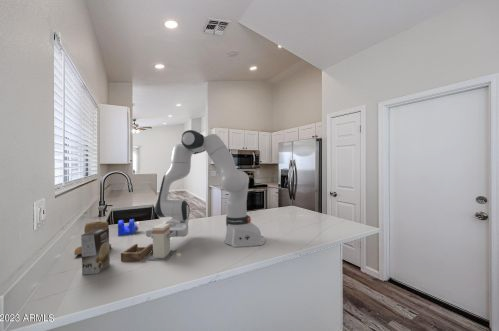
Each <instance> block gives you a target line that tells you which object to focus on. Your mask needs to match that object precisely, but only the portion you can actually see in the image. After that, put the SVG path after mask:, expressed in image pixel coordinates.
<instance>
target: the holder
mask: <svg viewBox="0 0 499 331" xmlns="http://www.w3.org/2000/svg"><path fill="white" fill-rule="evenodd" d="M136 251H137V252H136ZM138 251H140V252H138ZM151 251H152V252H153V243H150V244H149V245H147V246H139V245H138V243H135V244H133V245H132V246H130V247H129V248H127V249H125V250H124V251H122V252H121V253H120V261H121V262H141V261H142V260H143V259H145V258H146V257H147V256H148V255H150V254H151V253H152V252H151ZM150 252H151V253H150ZM149 253H150V254H149ZM145 256H146V257H145ZM144 257H145V258H144ZM140 260H141V261H140Z"/></svg>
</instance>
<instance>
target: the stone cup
mask: <svg viewBox="0 0 499 331" xmlns="http://www.w3.org/2000/svg"><path fill="white" fill-rule="evenodd" d="M109 224H110V223H109V222H108V221H106V220H103V221H102V220H100V221H99V220H98V221H90V222H88V221H87V222H86V223H85V226H84V234H85V233H87V232H89V231H92V230H94V229H104V228H109ZM109 229H110V228H109ZM111 246H112V244H111V243H109V249H110V248H111ZM73 253H74V255H75V256H78V255H82V245H81V246H77V247H76V248H75V249H74V251H73Z"/></svg>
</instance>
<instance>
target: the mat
mask: <svg viewBox="0 0 499 331" xmlns="http://www.w3.org/2000/svg"><path fill="white" fill-rule="evenodd" d="M174 253H176V250H174V249H173V250H172V249H170V253H169V254H168V255H166V256H165V257H164V258H153V254H152V255H151V256H149V257H148V258H147V259H146V261H147V260H165V261H164V262H166V260H167V261H168V260H169V259H170V258H171V256H173V254H174Z"/></svg>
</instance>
